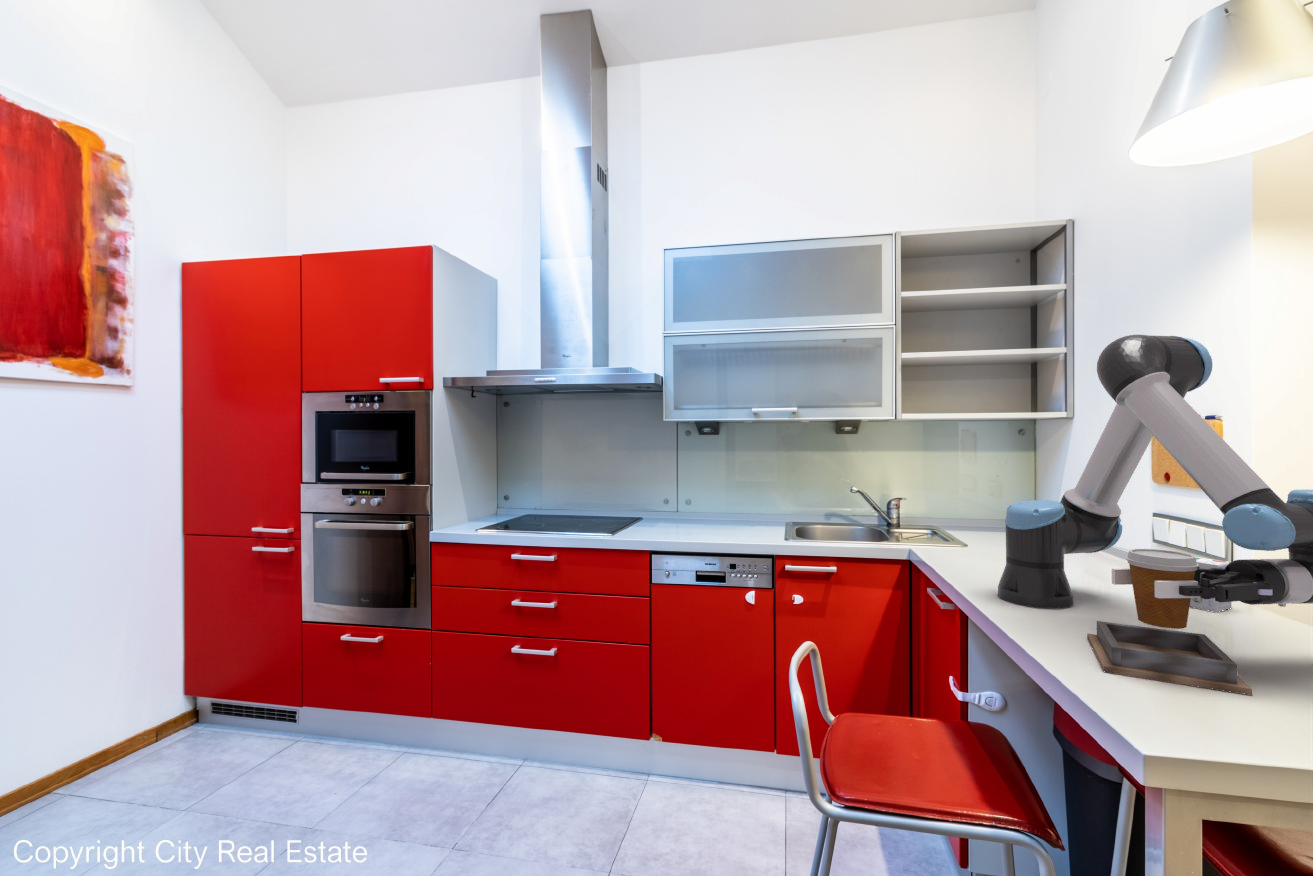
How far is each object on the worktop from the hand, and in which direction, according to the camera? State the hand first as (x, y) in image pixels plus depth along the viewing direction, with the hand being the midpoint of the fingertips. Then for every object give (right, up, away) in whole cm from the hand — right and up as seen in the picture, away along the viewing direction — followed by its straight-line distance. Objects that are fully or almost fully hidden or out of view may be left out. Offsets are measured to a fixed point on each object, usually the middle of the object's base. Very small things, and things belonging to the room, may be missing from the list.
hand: (1134, 582), depth 99 cm
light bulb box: (+42, -14, +34) cm, 56 cm away
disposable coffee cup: (+5, -7, 0) cm, 9 cm away
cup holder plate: (+5, -14, 0) cm, 15 cm away
